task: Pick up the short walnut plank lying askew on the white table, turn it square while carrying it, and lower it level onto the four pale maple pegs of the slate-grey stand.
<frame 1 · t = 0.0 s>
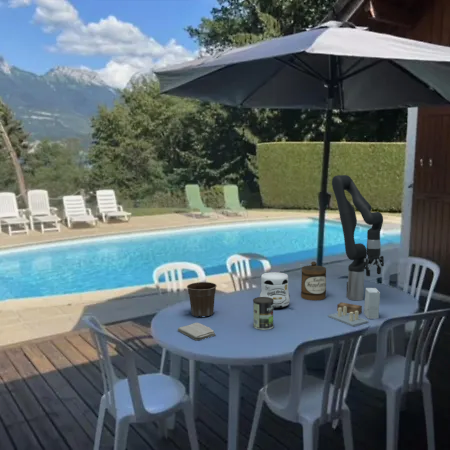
hand: (373, 275, 281), 17 cm above the table, tool pointing down, fingers open, 8 cm apart
milk container: (274, 306, 283), on the table
coffee can: (263, 326, 250), on the table
plank: (349, 312, 271), on the table
peg stand: (347, 319, 258), on the table
plant pot: (202, 314, 270), on the table
skincare box: (371, 316, 263), on the table
washcloth: (196, 334, 242), on the table
wooden container: (313, 297, 299), on the table
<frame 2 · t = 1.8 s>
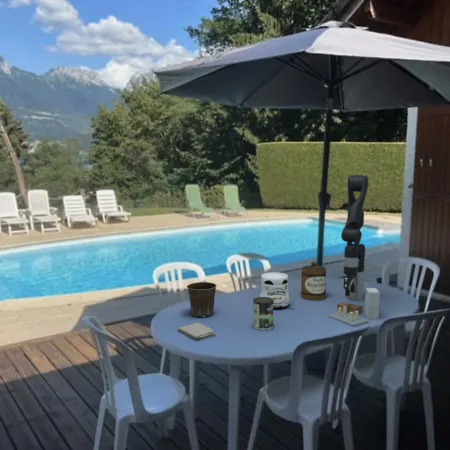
hand: (350, 294, 269), 10 cm above the table, tool pointing down, fingers open, 8 cm apart
nothing on the table moved.
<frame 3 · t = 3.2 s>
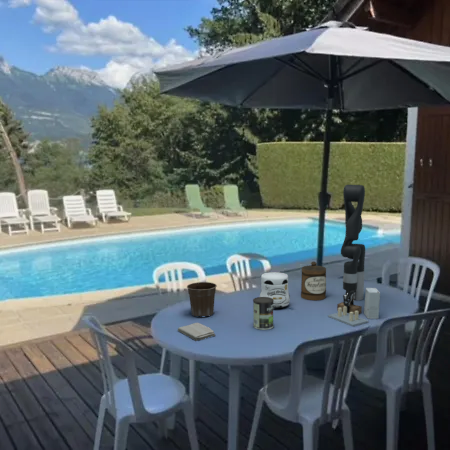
hand: (349, 310, 271), 1 cm above the table, tool pointing down, fingers closed on plank, 5 cm apart
plank: (349, 312, 271), on the table, touching gripper
everything else where it was.
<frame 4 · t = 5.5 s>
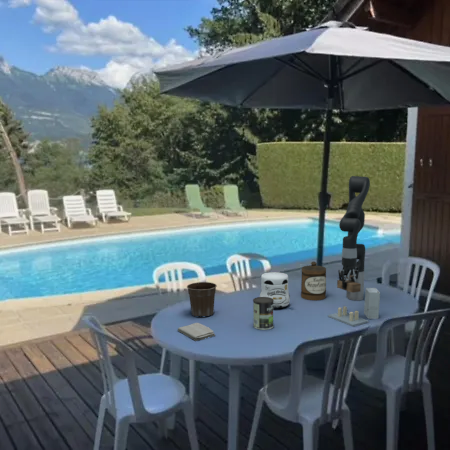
hand: (348, 287, 258), 17 cm above the table, tool pointing down, fingers closed on plank, 5 cm apart
plank: (348, 289, 258), point 16 cm above the table, touching gripper
everything else where it was.
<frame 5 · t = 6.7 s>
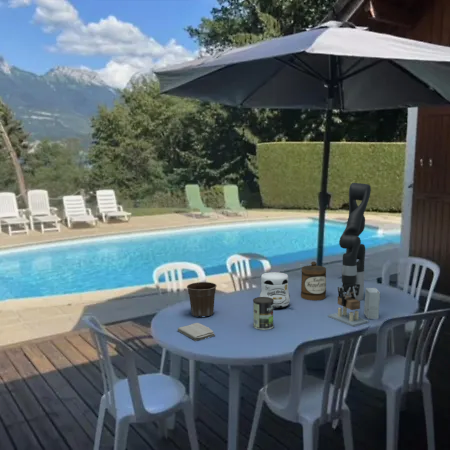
hand: (348, 304, 257), 8 cm above the table, tool pointing down, fingers closed on plank, 5 cm apart
plank: (348, 306, 257), point 7 cm above the table, touching gripper
everything else where it was.
when the fingers open (8 cm above the table, at t = 7.6 s): plank drops 1 cm, resting on peg stand.
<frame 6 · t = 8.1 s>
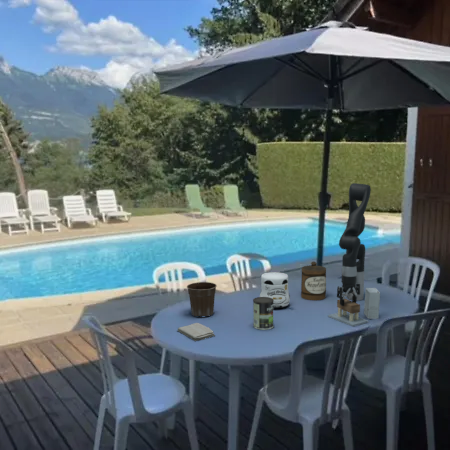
hand: (348, 304, 257), 8 cm above the table, tool pointing down, fingers open, 8 cm apart
plank: (348, 309, 257), point 5 cm above the table, touching peg stand
everything else where it was.
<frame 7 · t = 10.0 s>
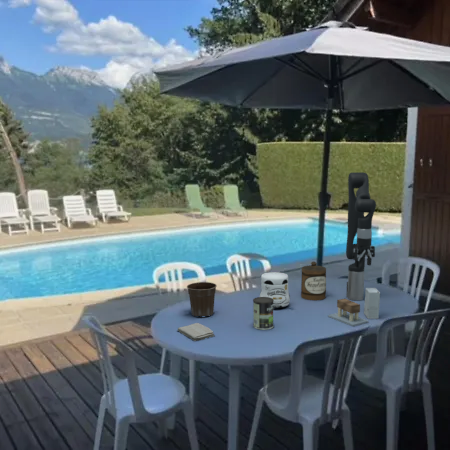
hand: (363, 266, 263), 27 cm above the table, tool pointing down, fingers open, 8 cm apart
nothing on the table moved.
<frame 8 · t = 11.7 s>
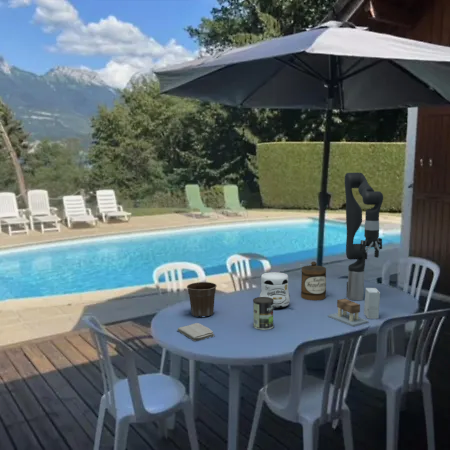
hand: (370, 258, 266), 30 cm above the table, tool pointing down, fingers open, 8 cm apart
nothing on the table moved.
at the end: plank 0.1 cm off-centre on the peg stand, point 5.5 cm above the peg stand's base; plank tilted 0°; the gripper is holding nothing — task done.
